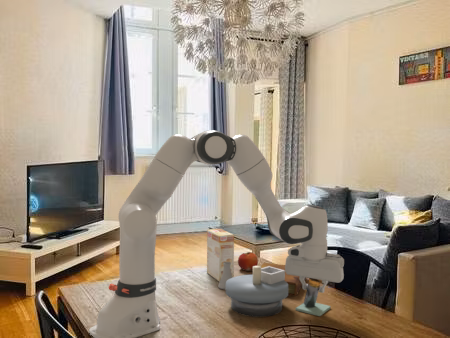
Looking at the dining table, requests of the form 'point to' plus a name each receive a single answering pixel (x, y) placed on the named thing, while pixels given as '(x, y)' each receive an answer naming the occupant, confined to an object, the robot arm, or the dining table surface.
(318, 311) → the mat
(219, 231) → the coffeecake box
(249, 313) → the base
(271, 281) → the dial
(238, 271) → the dining table surface
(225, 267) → the flask
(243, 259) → the tomato
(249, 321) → the dining table surface
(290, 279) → the diary
